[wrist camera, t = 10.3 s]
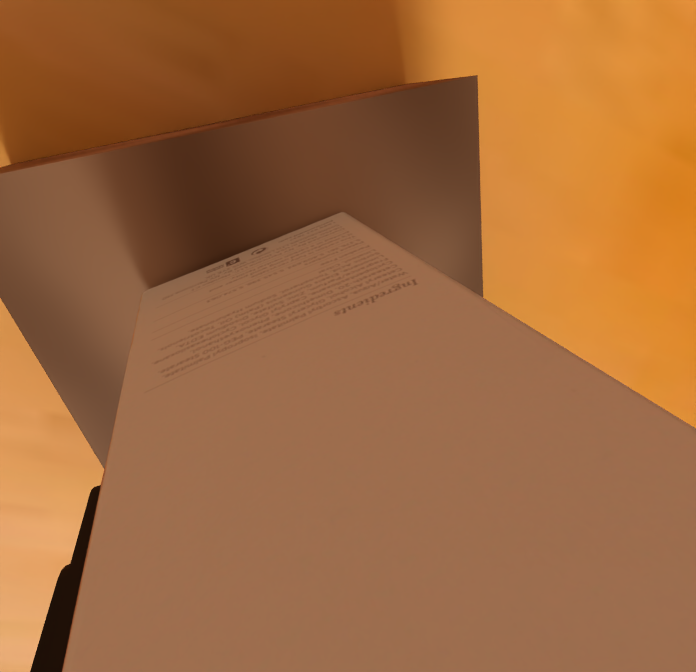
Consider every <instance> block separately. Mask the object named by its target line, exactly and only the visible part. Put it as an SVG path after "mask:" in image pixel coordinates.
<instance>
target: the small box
mask: <svg viewBox="0 0 696 672" xmlns="http://www.w3.org/2000/svg"><path fill="white" fill-rule="evenodd" d="M62 672H696V428H694V427H692V426H691V425H689V424H688V423H686V422H684V421H683V420H681V419H679V418H678V417H676V416H674V415H673V414H671V413H670V412H668V411H666V410H665V409H663V408H661V407H660V406H658V405H657V404H655V403H653V402H652V401H650V400H648V399H647V398H645V397H644V396H642V395H640V394H639V393H637V392H635V391H634V390H632V389H630V388H629V387H627V386H626V385H624V384H622V383H621V382H619V381H617V380H616V379H614V378H613V377H611V376H609V375H608V374H606V373H604V372H603V371H601V370H599V369H598V368H596V367H595V366H593V365H591V364H590V363H588V362H586V361H585V360H583V359H582V358H580V357H578V356H577V355H575V354H573V353H572V352H570V351H569V350H567V349H565V348H564V347H562V346H560V345H559V344H557V343H556V342H554V341H552V340H551V339H549V338H547V337H546V336H544V335H543V334H541V333H539V332H538V331H536V330H534V329H533V328H531V327H530V326H528V325H526V324H525V323H523V322H521V321H520V320H518V319H517V318H515V317H513V316H512V315H510V314H508V313H507V312H505V311H504V310H502V309H500V308H499V307H497V306H495V305H494V304H492V303H491V302H489V301H487V300H486V299H484V298H483V297H481V296H479V295H478V294H476V293H474V292H473V291H471V290H470V289H468V288H466V287H465V286H463V285H461V284H460V283H458V282H456V281H455V280H453V279H451V278H450V277H448V276H446V275H445V274H443V273H442V272H440V271H438V270H437V269H435V268H434V267H432V266H430V265H429V264H427V263H425V262H424V261H422V260H421V259H419V258H417V257H416V256H414V255H412V254H411V253H409V252H408V251H406V250H404V249H403V248H401V247H399V246H398V245H396V244H395V243H393V242H391V241H390V240H388V239H387V238H385V237H383V236H382V235H380V234H379V233H377V232H376V231H374V230H372V229H371V228H369V227H367V226H366V225H364V224H362V223H361V222H359V221H358V220H356V219H355V218H353V217H351V216H350V215H348V214H347V213H345V212H340V213H338V214H335V215H333V216H330V217H328V218H326V219H323V220H320V221H318V222H315V223H313V224H310V225H308V226H306V227H303V228H301V229H298V230H296V231H293V232H290V233H288V234H285V235H283V236H281V237H278V238H276V239H273V240H271V241H268V242H266V243H263V244H261V245H259V246H256V247H254V248H251V249H249V250H246V251H244V252H241V253H239V254H236V255H234V256H232V257H229V258H227V259H224V260H222V261H219V262H217V263H214V264H212V265H209V266H207V267H205V268H202V269H199V270H197V271H194V272H191V273H189V274H186V275H184V276H181V277H179V278H176V279H174V280H171V281H169V282H166V283H164V284H161V285H158V286H156V287H153V288H151V289H148V290H146V291H144V292H143V294H142V296H141V301H140V306H139V311H138V315H137V319H136V326H135V330H134V334H133V339H132V344H131V349H130V353H129V358H128V362H127V367H126V372H125V376H124V381H123V386H122V391H121V395H120V400H119V405H118V409H117V414H116V419H115V424H114V429H113V434H112V439H111V443H110V447H109V451H108V456H107V461H106V465H105V469H104V474H103V478H102V482H101V487H100V492H99V497H98V502H97V507H96V512H95V517H94V521H93V526H92V531H91V535H90V540H89V545H88V549H87V554H86V559H85V563H84V568H83V573H82V578H81V582H80V587H79V592H78V596H77V601H76V606H75V611H74V615H73V620H72V625H71V630H70V635H69V640H68V645H67V650H66V654H65V659H64V664H63V669H62Z"/></svg>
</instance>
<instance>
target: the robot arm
mask: <svg viewBox="0 0 696 672" xmlns="http://www.w3.org/2000/svg"><path fill="white" fill-rule="evenodd" d="M100 487H101V485H100V486H97V487H94V488H93V489H92V490H91V492H90V496H89V499H88V503H87V506H86V510H85V513H84V517H83V521H82V524H81V528H80V531H79V535H78V539H77V542H76V546H75V549H74V553H73V557H72V560H71V564H69V565H66V566H65V567H64V568H63V569H62V570H61V573H60V575H59V577H58V580H57V583H56V587H55V590H54V593H53V597H52V600H51V603H50V607H49V610H48V614H47V617H46V620H45V624H44V627H43V630H42V634H41V637H40V641H39V644H38V647H37V651H36V654H35V657H34V661H33V664H32V668H31V671H30V672H62V669H63V664H64V659H65V654H66V650H67V645H68V640H69V635H70V630H71V625H72V620H73V615H74V611H75V606H76V601H77V596H78V592H79V587H80V582H81V578H82V573H83V568H84V563H85V559H86V554H87V549H88V545H89V540H90V535H91V531H92V526H93V521H94V517H95V512H96V507H97V502H98V497H99V492H100Z"/></svg>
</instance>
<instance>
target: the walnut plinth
mask: <svg viewBox="0 0 696 672" xmlns="http://www.w3.org/2000/svg"><path fill="white" fill-rule="evenodd" d="M340 212H345V213H347V214H348V215H350V216H351V217H353V218H355V219H356V220H358V221H359V222H361V223H362V224H364V225H366V226H367V227H369V228H371V229H372V230H374V231H376V232H377V233H379V234H380V235H382V236H383V237H385V238H387V239H388V240H390V241H391V242H393V243H395V244H396V245H398V246H399V247H401V248H403V249H404V250H406V251H408V252H409V253H411V254H412V255H414V256H416V257H417V258H419V259H421V260H422V261H424V262H425V263H427V264H429V265H430V266H432V267H434V268H435V269H437V270H438V271H440V272H442V273H443V274H445V275H446V276H448V277H450V278H451V279H453V280H455V281H456V282H458V283H460V284H461V285H463V286H465V287H466V288H468V289H470V290H471V291H473V292H474V293H476V294H478V295H479V296H481V297H483V279H482V240H481V200H480V161H479V121H478V82H477V75H476V76H468V77H460V78H452V79H444V80H435V81H427V82H419V83H411V84H404V85H400V86H395V87H390V88H385V89H380V90H375V91H370V92H365V93H360V94H355V95H350V96H346V97H341V98H336V99H331V100H326V101H321V102H316V103H311V104H306V105H301V106H296V107H292V108H287V109H282V110H277V111H272V112H267V113H262V114H257V115H252V116H247V117H242V118H238V119H233V120H228V121H223V122H218V123H213V124H208V125H203V126H198V127H193V128H188V129H184V130H179V131H174V132H169V133H164V134H159V135H154V136H149V137H144V138H139V139H134V140H130V141H125V142H120V143H115V144H110V145H105V146H100V147H95V148H90V149H85V150H80V151H76V152H71V153H66V154H61V155H56V156H51V157H46V158H41V159H36V160H31V161H26V162H22V163H17V164H12V165H8V166H5V167H1V168H0V298H1V299H2V301H3V303H4V304H5V306H6V308H7V309H8V311H9V313H10V314H11V316H12V318H13V319H14V321H15V323H16V324H17V326H18V327H19V329H20V331H21V332H22V334H23V336H24V337H25V339H26V341H27V342H28V344H29V346H30V347H31V349H32V351H33V352H34V354H35V355H36V357H37V359H38V360H39V362H40V364H41V365H42V367H43V369H44V370H45V372H46V374H47V375H48V377H49V379H50V380H51V382H52V384H53V385H54V387H55V388H56V390H57V392H58V393H59V395H60V397H61V398H62V400H63V402H64V403H65V405H66V407H67V408H68V410H69V412H70V413H71V415H72V416H73V418H74V420H75V421H76V423H77V425H78V426H79V428H80V430H81V431H82V433H83V435H84V436H85V438H86V440H87V441H88V443H89V444H90V446H91V448H92V449H93V451H94V453H95V454H96V456H97V458H98V459H99V461H100V463H101V464H102V466H103V468H104V469H105V465H106V461H107V456H108V451H109V447H110V443H111V439H112V434H113V429H114V424H115V419H116V414H117V409H118V405H119V400H120V395H121V391H122V386H123V381H124V376H125V372H126V367H127V362H128V358H129V353H130V349H131V344H132V339H133V334H134V330H135V326H136V319H137V315H138V311H139V306H140V301H141V296H142V294H143V292H144V291H146V290H148V289H151V288H153V287H156V286H158V285H161V284H164V283H166V282H169V281H171V280H174V279H176V278H179V277H181V276H184V275H186V274H189V273H191V272H194V271H197V270H199V269H202V268H205V267H207V266H209V265H212V264H214V263H217V262H219V261H222V260H224V259H227V258H229V257H232V256H234V255H236V254H239V253H241V252H244V251H246V250H249V249H251V248H254V247H256V246H259V245H261V244H263V243H266V242H268V241H271V240H273V239H276V238H278V237H281V236H283V235H285V234H288V233H290V232H293V231H296V230H298V229H301V228H303V227H306V226H308V225H310V224H313V223H315V222H318V221H320V220H323V219H326V218H328V217H330V216H333V215H335V214H338V213H340Z"/></svg>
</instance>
